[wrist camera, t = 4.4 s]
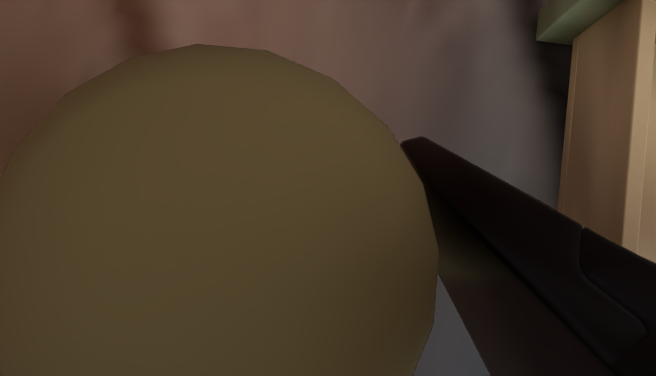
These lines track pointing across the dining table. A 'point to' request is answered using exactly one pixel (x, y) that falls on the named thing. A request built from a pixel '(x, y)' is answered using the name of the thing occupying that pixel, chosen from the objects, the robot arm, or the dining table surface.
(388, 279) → the pawn game piece
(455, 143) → the dining table surface
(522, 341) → the robot arm
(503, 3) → the dining table surface
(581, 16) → the drawer
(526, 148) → the dining table surface
